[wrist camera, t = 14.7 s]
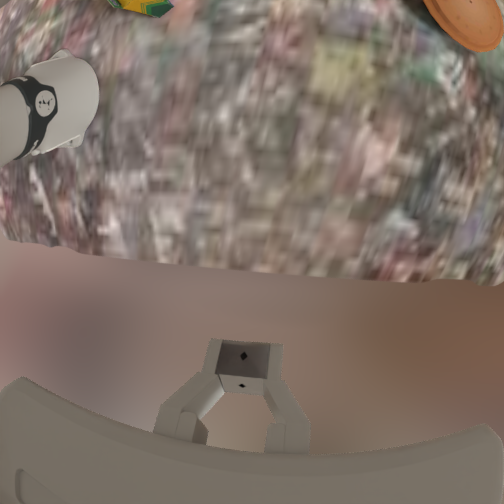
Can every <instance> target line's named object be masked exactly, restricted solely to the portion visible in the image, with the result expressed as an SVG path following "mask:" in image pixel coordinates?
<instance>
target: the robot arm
mask: <svg viewBox="0 0 504 504" xmlns="http://www.w3.org/2000/svg"><path fill="white" fill-rule="evenodd" d="M98 102H99V85H98V80H97V77H96V74H95V72H94V70H93V69H92V67H91V66H90V65H89V64H88V63H87V62H86V61H84V60H82V59H79V58H76V57H74V56H73V55H72V54H71V53H70V52H69V51H68V50H67V49H62V50H59V51H58V52H57V53H56V54H54V55H53V56H52V57H51V58H50V59H49V60H47V61H44V62H40V63H37V64H34V65H32V66H31V67H30V69H29V70H27V71H26V73H25V74H24V75H23V76H21V77H16V78H13V79H11V80H9V81H7V82H5V83H3V84H2V85H1V86H0V168H2V167H3V166H4V165H6V164H7V163H9V162H10V161H12V160H17V159H20V158H21V157H23V156H26V155H28V154H29V153H31V155H37V154H39V153H41V154H43V153H46V152H48V151H51V150H53V149H55V148H56V147H78V146H80V145H81V144H82V142H83V138H84V134H85V131H86V129H87V127H88V126H89V125H90V123H91V122H92V120H93V118H94V116H95V114H96V111H97V107H98ZM71 140H72V141H71ZM282 358H283V344H278V343H277V344H276V343H262V342H261V343H260V342H244V341H232V340H223V339H213V338H212V339H211V340H210V342H209V345H208V349H207V353H206V356H205V360H204V364H203V368H202V372H197V373H196V374H195V375H194V376H193V377H192V378H191V379H190V380H189V381H187V382H186V383H185V384H184V385H183V386H182V387H181V388H180V389H179V390H177V391H176V392H175V393H174V394H173V395H172V396H171V397H169V398H168V399H167V400H166V401H165V402H164V403H163V404H161V406H160V410H159V413H158V416H157V419H156V423H155V426H154V430H153V433H152V432H148V431H145V430H142V429H139V428H135V427H132V426H129V425H127V424H124V423H121V422H118V421H115V420H113V419H110V418H107V417H105V416H102V415H100V414H97V413H95V412H92V411H90V410H88V409H85V408H83V407H81V406H79V405H77V404H75V403H73V402H70V401H68V400H66V399H64V398H62V397H60V396H58V395H56V394H55V393H52V392H51V391H49V390H47V389H45V388H43V387H42V386H40V385H38V384H36V383H35V382H33V381H31V380H30V379H28V378H26V377H20V378H18V379H16V380H14V381H13V382H11V383H10V384H8V385H7V386H6V387H4V388H3V389H2V391H1V392H0V504H501V502H502V495H503V486H504V485H503V484H504V449H503V444H502V441H501V439H500V438H499V436H498V435H497V434H496V433H495V432H494V431H493V430H492V429H491V428H490V427H489V426H488V425H487V424H480V425H477V426H474V427H471V428H468V429H465V430H462V431H460V432H456V433H453V434H450V435H446V436H443V437H439V438H435V439H432V440H428V441H423V442H419V443H414V444H410V445H405V446H399V447H393V448H387V449H380V450H373V451H364V452H354V453H341V454H318V455H309V448H310V429H311V423H310V422H309V420H308V418H307V417H306V415H305V414H304V412H303V410H302V409H301V407H300V405H299V404H298V402H297V401H296V399H295V398H294V396H293V394H292V392H291V391H290V389H289V388H288V386H287V384H286V383H285V381H284V380H281V371H282ZM224 392H230V393H242V394H250V395H259V396H263V397H264V399H265V401H266V403H267V405H268V407H269V409H270V411H271V413H272V415H273V417H274V419H275V421H276V423H271V424H269V425H268V428H267V436H266V443H265V451H264V453H259V452H248V451H239V450H232V449H225V448H218V447H212V446H207V445H206V442H207V437H208V432H209V431H208V429H207V428H206V427H205V425H204V424H203V423H202V422H201V421H200V419H201V418H202V417H203V416H204V415H205V414H206V413H207V412H208V411H209V410H210V409H211V408H212V407H213V405H214V404H215V403H216V402H217V401H218V400H219V399H220V398H221V397H222V395H223V394H224Z"/></svg>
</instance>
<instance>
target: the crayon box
mask: <svg viewBox="0 0 504 504" xmlns="http://www.w3.org/2000/svg"><path fill="white" fill-rule="evenodd" d="M107 1H108V2H109V3H110V4H111V5H112V7H115V8H120V9H126V10H131V11H135V12H139V13H143V14H147V15H150V16H153V17H157V18H160V17H161V16H162V15H164V14H165V13H166V12H167V11H169V10H170V9H171V8H173V7H174V6H173V5H172V4H171V3H170V1H169V0H107Z"/></svg>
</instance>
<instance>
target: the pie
mask: <svg viewBox="0 0 504 504" xmlns="http://www.w3.org/2000/svg"><path fill="white" fill-rule="evenodd" d="M423 2H424V4H425V5H426V7H427V9H428V11H429V13H430V14H431V15H432V17H433V18H434V19H435V20H436V22H437V23H438V24H439V25H440V27H441V28H442V29H443V30H444V31H445V32H446V33H448V34H449V35H450V36H451V37H452V38H453V39H454V40H455V41H457V42H458V43H460V44H461V45H463V46H464V47H465V48H468V49H470V50H473V51H475V52H487V51H490V50H493V49H495V48H496V47H497V45H498V44H499V43H500V41H501V38H502V36H503V33H504V30H503V19H502V16H501V12H500V9H499V7H498V5H497V3H496V1H495V0H423Z"/></svg>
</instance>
